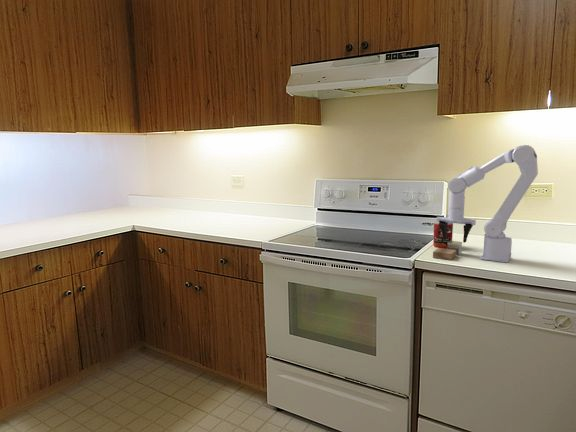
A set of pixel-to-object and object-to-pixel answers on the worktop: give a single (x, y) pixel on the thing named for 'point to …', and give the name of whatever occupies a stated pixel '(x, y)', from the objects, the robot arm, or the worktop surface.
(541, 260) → the worktop surface
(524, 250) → the worktop surface
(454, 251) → the walnut block
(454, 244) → the tea tin
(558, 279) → the worktop surface
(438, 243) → the canned food
